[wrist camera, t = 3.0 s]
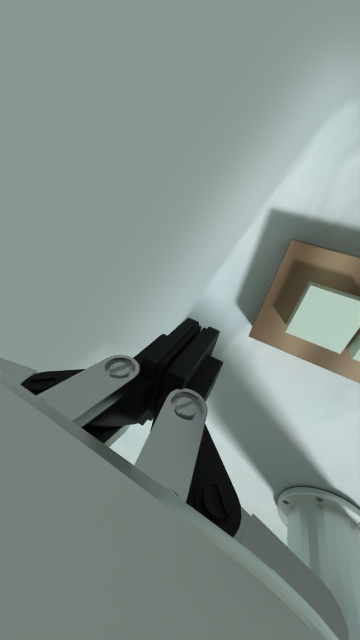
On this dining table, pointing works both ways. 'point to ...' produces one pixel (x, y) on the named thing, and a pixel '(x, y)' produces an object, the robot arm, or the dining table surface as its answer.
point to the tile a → (325, 317)
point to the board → (286, 292)
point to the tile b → (355, 348)
